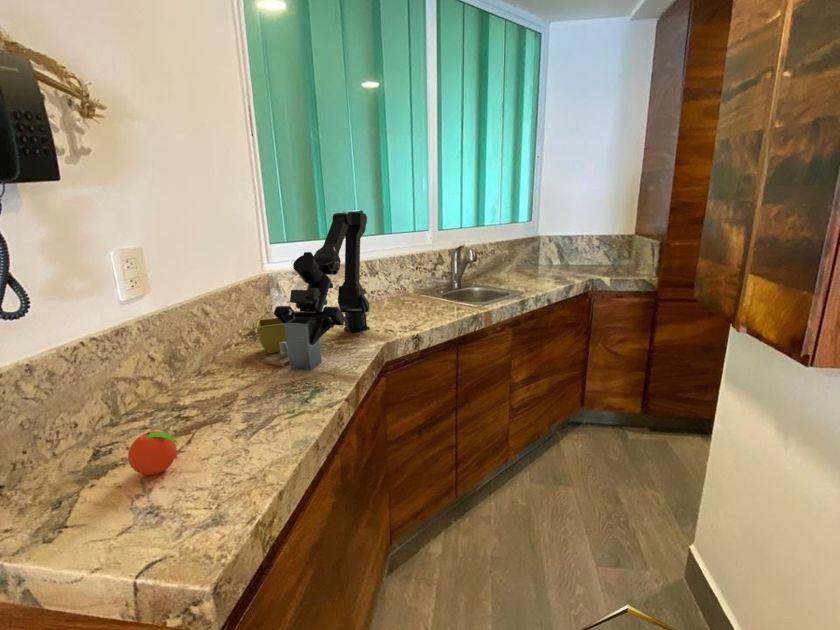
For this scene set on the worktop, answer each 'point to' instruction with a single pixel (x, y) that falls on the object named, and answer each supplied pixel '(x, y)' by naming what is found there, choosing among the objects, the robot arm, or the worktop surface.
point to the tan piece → (279, 356)
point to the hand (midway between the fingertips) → (300, 343)
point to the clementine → (152, 453)
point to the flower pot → (271, 334)
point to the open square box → (302, 344)
